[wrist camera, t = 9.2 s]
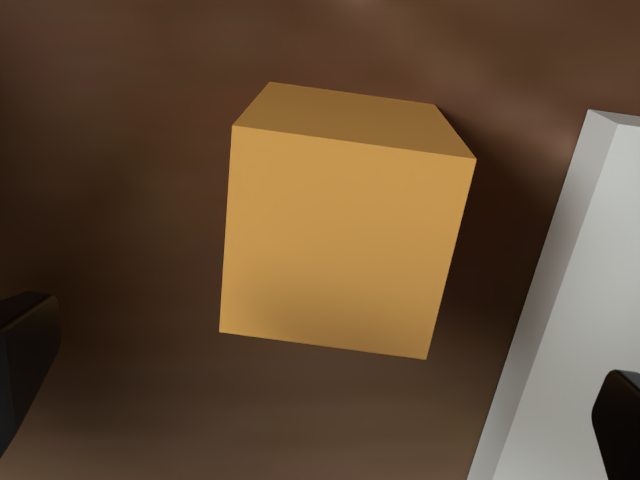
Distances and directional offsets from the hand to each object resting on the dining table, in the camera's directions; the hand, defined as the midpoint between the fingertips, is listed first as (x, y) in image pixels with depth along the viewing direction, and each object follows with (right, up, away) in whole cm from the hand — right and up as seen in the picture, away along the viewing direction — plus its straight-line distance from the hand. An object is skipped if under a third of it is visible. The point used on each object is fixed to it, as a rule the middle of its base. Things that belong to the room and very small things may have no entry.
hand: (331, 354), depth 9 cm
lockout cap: (+1, +4, +9) cm, 10 cm away
